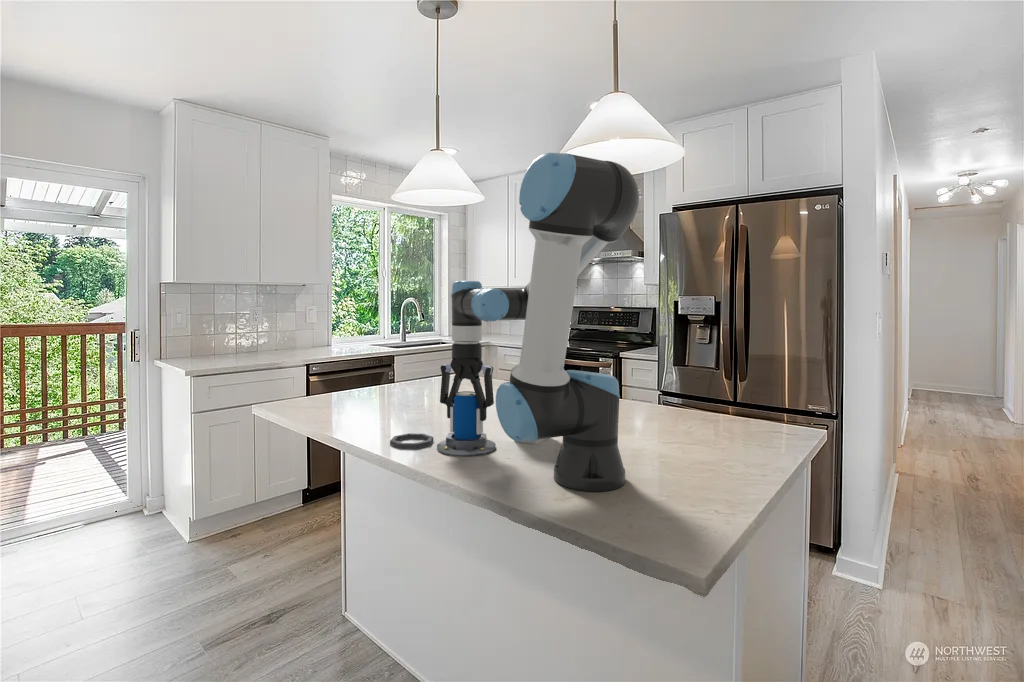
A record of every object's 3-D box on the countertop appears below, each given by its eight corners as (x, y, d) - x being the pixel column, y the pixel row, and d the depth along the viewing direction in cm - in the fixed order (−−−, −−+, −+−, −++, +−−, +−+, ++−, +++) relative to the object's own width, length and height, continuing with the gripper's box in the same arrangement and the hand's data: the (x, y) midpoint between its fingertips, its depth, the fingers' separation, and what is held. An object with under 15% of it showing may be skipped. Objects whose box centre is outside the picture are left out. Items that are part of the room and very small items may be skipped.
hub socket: (507, 448, 137) (507, 436, 137) (461, 460, 127) (461, 447, 126) (471, 437, 148) (471, 425, 147) (425, 447, 138) (425, 434, 137)
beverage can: (482, 441, 135) (482, 394, 134) (457, 443, 133) (457, 396, 132) (475, 435, 141) (475, 390, 140) (451, 437, 139) (451, 391, 138)
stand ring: (440, 443, 141) (440, 439, 141) (405, 451, 134) (405, 446, 134) (418, 435, 149) (418, 431, 149) (384, 442, 141) (384, 438, 141)
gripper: (507, 342, 136) (507, 431, 138) (437, 340, 141) (438, 425, 143) (498, 344, 128) (497, 438, 130) (425, 342, 134) (425, 432, 136)
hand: (466, 431), depth 137 cm, fingers closed on beverage can, 6 cm apart
